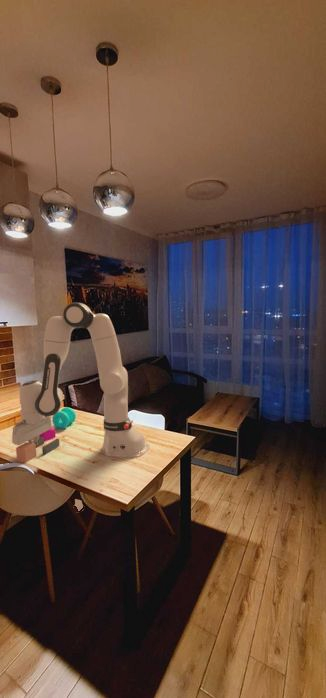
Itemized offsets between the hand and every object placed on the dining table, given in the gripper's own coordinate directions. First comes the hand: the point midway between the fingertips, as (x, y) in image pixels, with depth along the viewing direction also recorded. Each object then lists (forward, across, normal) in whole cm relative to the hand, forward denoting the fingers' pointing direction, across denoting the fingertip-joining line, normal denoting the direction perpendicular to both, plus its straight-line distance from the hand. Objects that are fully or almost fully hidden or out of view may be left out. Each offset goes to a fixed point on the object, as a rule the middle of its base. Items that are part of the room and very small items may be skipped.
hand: (33, 446), depth 134 cm
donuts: (+4, +32, +9) cm, 34 cm away
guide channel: (+4, +6, 0) cm, 7 cm away
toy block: (+4, +17, +12) cm, 21 cm away
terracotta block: (+4, -5, 0) cm, 6 cm away
